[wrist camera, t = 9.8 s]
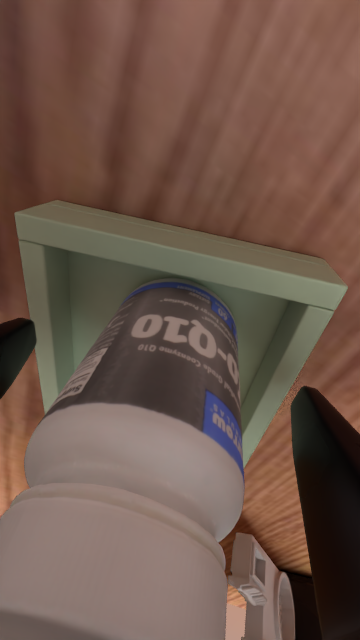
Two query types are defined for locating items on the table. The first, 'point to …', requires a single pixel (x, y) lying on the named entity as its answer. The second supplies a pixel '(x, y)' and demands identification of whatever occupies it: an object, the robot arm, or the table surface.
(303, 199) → the table surface
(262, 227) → the table surface
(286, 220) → the table surface
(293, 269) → the tray
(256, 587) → the garden wall model
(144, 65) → the table surface
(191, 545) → the pill bottle
